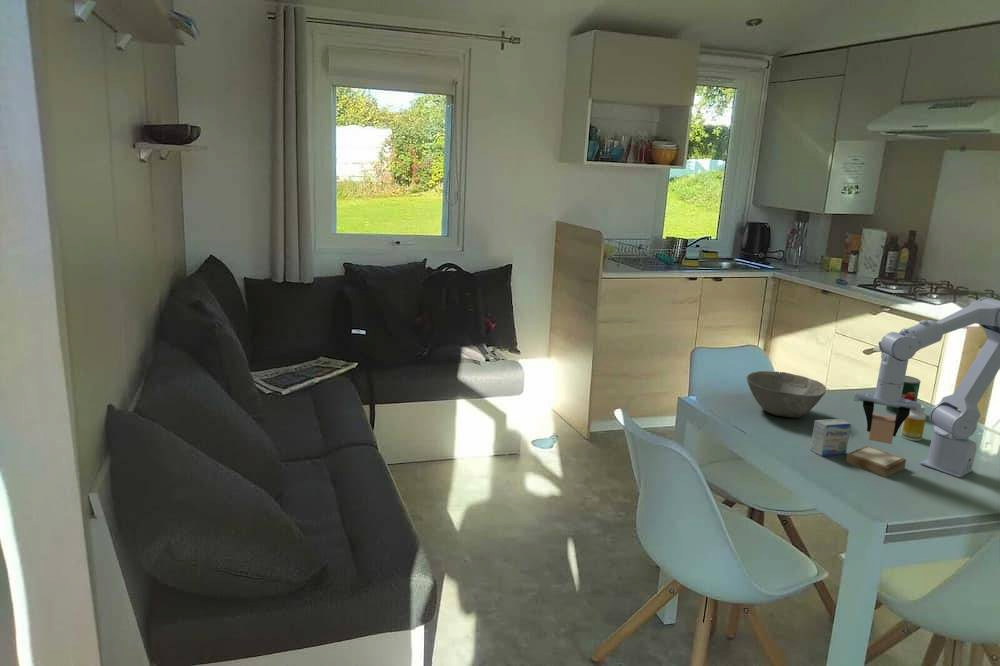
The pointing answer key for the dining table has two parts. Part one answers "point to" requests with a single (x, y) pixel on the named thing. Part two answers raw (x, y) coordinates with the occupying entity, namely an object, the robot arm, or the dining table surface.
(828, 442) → the medicine box
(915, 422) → the supplement bottle
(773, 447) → the dining table surface
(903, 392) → the canned tomato
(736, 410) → the dining table surface
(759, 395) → the ceramic bowl
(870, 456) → the walnut plinth
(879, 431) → the block
